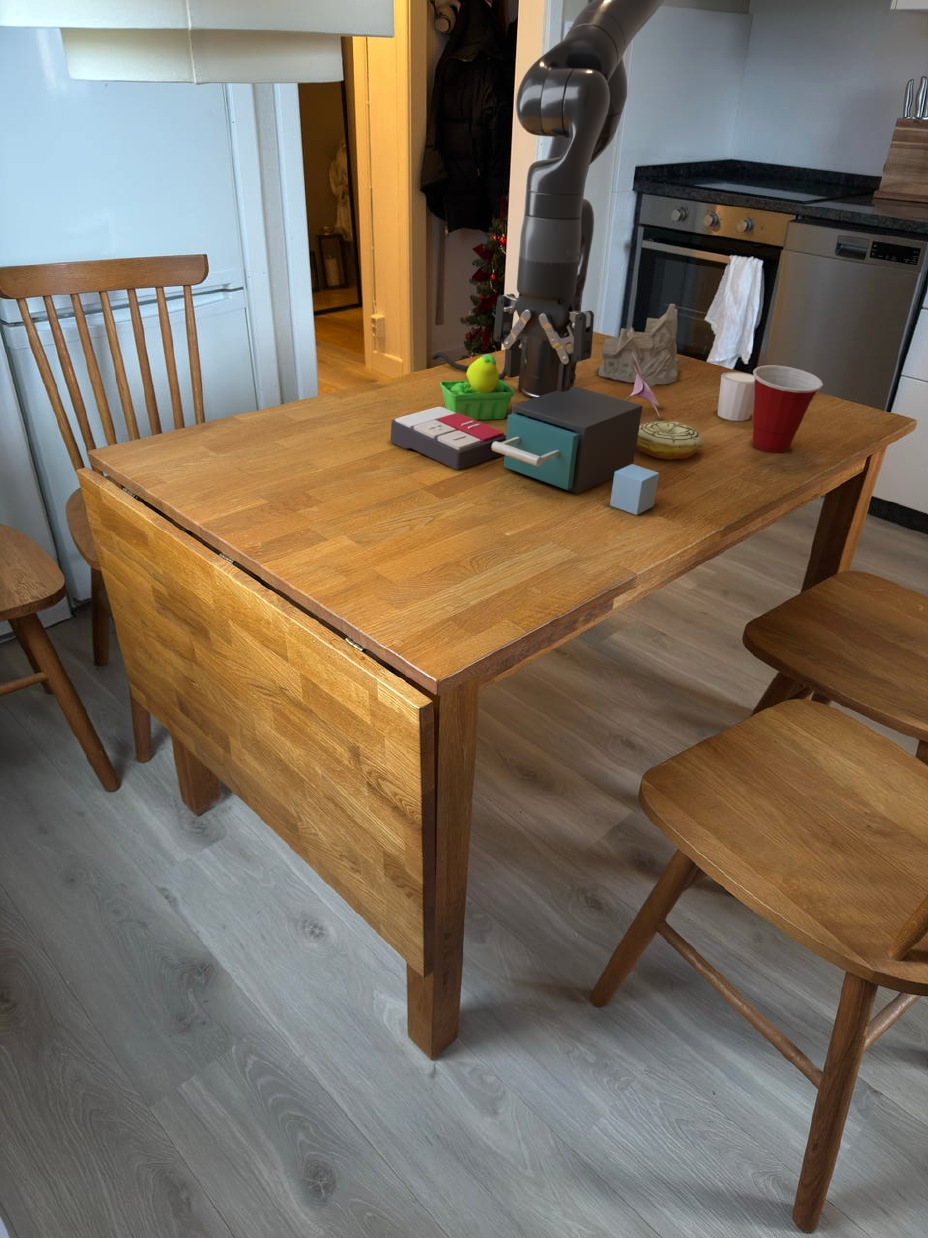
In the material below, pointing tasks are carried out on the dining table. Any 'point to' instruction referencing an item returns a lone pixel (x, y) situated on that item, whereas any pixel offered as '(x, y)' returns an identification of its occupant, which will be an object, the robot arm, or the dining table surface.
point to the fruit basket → (479, 392)
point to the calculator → (446, 437)
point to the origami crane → (643, 389)
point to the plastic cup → (780, 405)
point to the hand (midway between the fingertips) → (537, 383)
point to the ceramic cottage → (643, 352)
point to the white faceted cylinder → (736, 396)
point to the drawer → (540, 450)
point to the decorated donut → (668, 440)
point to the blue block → (634, 489)
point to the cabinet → (590, 430)
